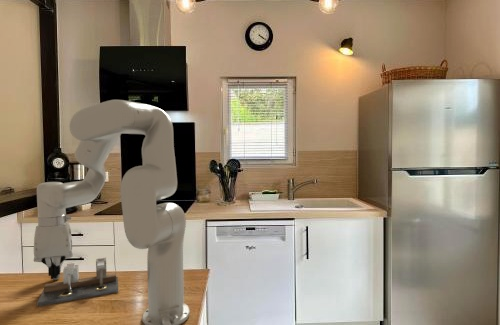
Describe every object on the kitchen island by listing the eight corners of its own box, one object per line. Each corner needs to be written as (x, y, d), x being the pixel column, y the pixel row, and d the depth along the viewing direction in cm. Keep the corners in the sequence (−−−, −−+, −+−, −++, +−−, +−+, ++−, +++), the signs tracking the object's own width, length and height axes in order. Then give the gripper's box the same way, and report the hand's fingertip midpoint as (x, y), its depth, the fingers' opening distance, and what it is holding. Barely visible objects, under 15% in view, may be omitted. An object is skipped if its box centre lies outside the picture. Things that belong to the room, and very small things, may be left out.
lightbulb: (54, 275, 114) (52, 246, 113) (69, 276, 113) (68, 246, 113) (41, 283, 108) (39, 252, 107) (57, 284, 107) (56, 252, 106)
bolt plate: (118, 292, 101) (118, 288, 101) (37, 306, 92) (37, 302, 92) (117, 279, 110) (117, 276, 110) (44, 292, 101) (44, 287, 101)
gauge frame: (116, 285, 103) (115, 263, 103) (41, 298, 95) (40, 274, 94) (116, 277, 110) (115, 256, 109) (45, 288, 101) (44, 265, 101)
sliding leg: (76, 290, 98) (75, 269, 98) (62, 293, 97) (61, 271, 96) (79, 281, 105) (78, 261, 105) (65, 283, 104) (64, 263, 103)
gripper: (80, 216, 106) (81, 269, 107) (27, 220, 100) (29, 276, 101) (77, 221, 99) (79, 277, 100) (20, 226, 93) (23, 286, 94)
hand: (54, 277), depth 101 cm, fingers closed
